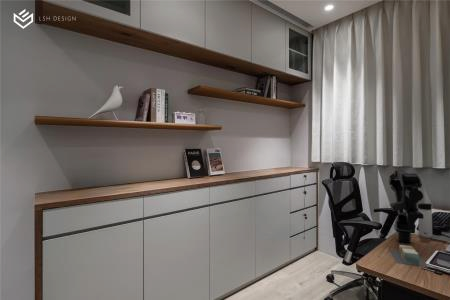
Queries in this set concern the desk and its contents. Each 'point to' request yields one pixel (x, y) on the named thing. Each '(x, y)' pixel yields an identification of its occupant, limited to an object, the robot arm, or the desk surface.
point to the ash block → (409, 255)
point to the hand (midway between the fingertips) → (410, 227)
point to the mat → (399, 260)
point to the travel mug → (425, 221)
